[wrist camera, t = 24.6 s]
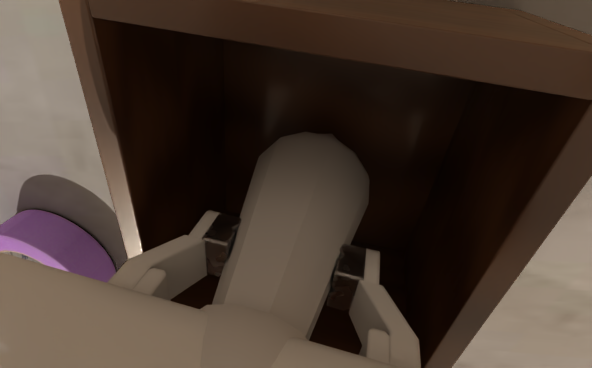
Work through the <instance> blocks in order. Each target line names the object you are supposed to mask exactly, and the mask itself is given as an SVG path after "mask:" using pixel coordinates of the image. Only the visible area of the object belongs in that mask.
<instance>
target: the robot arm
mask: <svg viewBox="0 0 592 368" xmlns="http://www.w3.org/2000/svg"><path fill="white" fill-rule="evenodd" d="M241 221H242V220H241V218H239V217H235V216H231V215H228V214H224V213H219V212H216V211H212V210H208V211H206V213H205V214H204V215H203V217H202V218H201V219H200V220H199V222H198V223H197V224H196V226H195V227H194V228H193V230H192V231H191V232H190V234H189V235H183V236H181V237H178V238H176V239H174V240H171V241H169V242H167V243H165V244H162V245H160V246H158V247H155V248H153V249H151V250H148V251H146V252H144V253H142V254H139V255H137V256H135V257H132V258H130V259H128V260H127V261H126V262H125V263H124V264H123V266H122V267H121V268H120V269H119V270H118V271H117V272H116V273H115V274H114V275H113V277H112V278H111V279H110V280H109V281H108V282H107V283H106V282H103V281H99V280H96V279H92V278H89V277H85V276H82V275H78V274H75V273H71V272H68V271H64V270H61V269H57V268H54V267H50V266H47V265H43V264H40V263H37V262H33V261H30V260H26V259H23V258H19V257H16V256H12V255H9V254H5V253H2V252H0V368H201V367H200V363H201V354H202V345H203V336H204V334H205V329H206V325H207V320H208V314H207V313H206V312H205V311H203V310H200V309H197V308H193V307H190V306H186V305H183V304H179V303H176V302H172V301H171V299H172V298H174V297H175V296H177V295H178V294H180V293H181V292H183V291H184V290H185V289H187V288H188V287H190V286H191V285H193V284H194V283H196V282H197V281H199V280H200V279H202V278H203V277H205V276H206V275H207V274H210V275H214V276H218V277H221V274H222V271H223V268H224V264H225V262H226V259H227V258H228V257H229V255H230V253H231V251H232V248H233V245H234V242H235V238H236V234H237V231H238V228H239V226H240V224H241ZM339 250H340V255H339V258H338V259H337V262H336V266H335V270H334V275H333V281H332V286H331V288H330V291H329V295H328V300H327V306H330V307H333V308H336V309H340V310H343V311H346V312H349V316H350V318H351V320H352V323H353V325H354V327H355V330H356V332H357V334H358V337H359V339H360V341H361V344H362V348H361V350H360V353H359V355H356V354H353V353H350V352H346V351H343V350H339V349H336V348H332V347H329V346H325V345H322V344H318V343H315V342H311V341H308V340H304V339H301V338H296V337H295V338H290V339H288V340H287V342H286V344H285V345H284V347H283V348H282V350H281V352H280V353H279V355H278V357H277V359H276V360H275V362H274V363H273V365H272V366H271V367H270V368H421V361H420V348H419V339H418V338H417V336H416V335H415V333H414V332H413V330H412V329H411V327H410V326H409V324H408V323H407V321H406V320H405V318H404V317H403V315H402V314H401V312H400V311H399V309H398V308H397V306H396V305H395V303H394V302H393V300H392V299H391V297H390V296H389V294H388V293H387V291H386V290H385V288H384V287H383V286H382V285H379V273H380V252H379V251H376V250H371V249H367V248H366V249H365V248H362V247H358V246H354V245H349V244H345V243H344V244H342V246H341V248H340V249H339Z"/></svg>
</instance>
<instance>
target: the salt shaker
mask: <svg viewBox="0 0 592 368" xmlns="http://www.w3.org/2000/svg"><path fill="white" fill-rule="evenodd" d="M369 181H370V180H369V176H368V174H367V172H366V170H365V169H364V167H363V165H362V163H361V162H360V160H359V158H358V157H357V155H356V153H355V152H353V151H352V150H351V149H349V148H348V147H347V146H345V145H344V144H342V143H341V142H340V141H338V140H337V139H336V138H335V136H334V135H333V134H316V133H310V132H302V133H297V134H293V135H288V136H284V137H280V138H279V139H278V140H277V141H276V142H275V143H274V144H272V145H271V146H270V147H269V148H268V149H267V150H266V151H264V152H263V153H262V154H261V155H260V156H259V158H258V161H257V164H256V167H255V170H254V173H253V176H252V179H251V182H250V185H249V189H248V192H247V195H246V198H245V201H244V204H243V208H242V211H241V214H240V217H239V218H241V220H242V221H241V224H240V226H239V228H238V231H237V234H236V238H235V242H234V245H233V248H232V251H231V253H230V255H229V257H228V258H227V259H226V262H225V264H224V268H223V271H222V274H221V277H220V280H219V283H218V287H217V290H216V293H215V296H214V299H213V302H212V305H206V306H204V307H203V308H201V309H200V310H203V311H205V312H206V313H207V314H208V320H207V325H206V329H205V334H204V336H203V345H202V354H201V363H200V367H201V368H270V367H271V366H272V365H273V363H274V362H275V360H276V359H277V357H278V355H279V353H280V352H281V350H282V348H283V347H284V345H285V344H286V342H287V340H288V339H290V338H295V337H296V338H301V339H304V340H308V341H309V339H310V336H311V334H312V332H313V329H314V327H315V324H316V322H317V319H318V317H319V315H320V312H321V310H322V307H323V305H324V302H325V300H326V298H327V295H328V293H329V291H330V288H331V286H332V281H333V275H334V270H335V266H336V262H337V259H338V258H339V255H340V250H339V249H340V248H341V246H342V244H344V243H345V244H349V245H350V244H351V242H352V239H353V237H354V235H355V233H356V231H357V228H358V226H359V224H360V222H361V219H362V217H363V215H364V213H365V210H366V208H367V206H368V204H369Z"/></svg>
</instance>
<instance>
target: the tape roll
mask: <svg viewBox="0 0 592 368" xmlns="http://www.w3.org/2000/svg"><path fill="white" fill-rule="evenodd" d="M0 252H2V253H5V254H9V255H12V256H16V257H19V258H23V259H26V260H30V261H33V262H37V263H40V264H43V265H47V266H50V267H54V268H57V269H61V270H64V271H68V272H71V273H75V274H78V275H82V276H85V277H89V278H92V279H96V280H99V281H103V282H106V283H107V282H108V281H109V280H110V279H111V278H112V277H113V275H114V274H115V273H116V270H115V267H114V264H113V262H112V260H111V258H110V257H109V255H108V254H107V252H106V251H105V250H104V249H103V247H102V246H101V245H100V244H99V243H98V242H97V241H96V240H95V239H94V238H93V237H92V236H91V235H89V234H88V233H87V232H85V231H84V230H83V229H82V228H80V227H79V226H77V225H75V224H74V223H72V222H70V221H68V220H67V219H65V218H63V217H60V216H58V215H56V214H53V213H50V212H46V211H42V210H25V211H21V212H19V213H18V214H16V215H15V216H13V217H12V218H10V219H9V220H7V221H6V222H4V223H3V224H1V225H0Z"/></svg>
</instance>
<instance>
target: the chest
mask: <svg viewBox="0 0 592 368" xmlns="http://www.w3.org/2000/svg"><path fill="white" fill-rule="evenodd" d="M59 3H60V7H61V11H62V15H63V18H64V22H65V26H66V29H67V33H68V37H69V41H70V44H71V48H72V52H73V56H74V59H75V63H76V67H77V71H78V74H79V78H80V82H81V86H82V89H83V93H84V97H85V100H86V104H87V108H88V112H89V115H90V119H91V123H92V127H93V130H94V134H95V138H96V142H97V145H98V149H99V153H100V157H101V160H102V164H103V168H104V172H105V175H106V179H107V183H108V186H109V190H110V194H111V198H112V201H113V205H114V209H115V213H116V216H117V220H118V224H119V228H120V231H121V235H122V239H123V243H124V246H125V250H126V254H127V257H128V259H130V258H132V257H135V256H137V255H139V254H142V253H144V252H146V251H148V250H151V249H153V248H155V247H158V246H160V245H162V244H165V243H167V242H169V241H171V240H174V239H176V238H178V237H181V236H183V235H189V234H190V232H191V231H192V230H193V228H194V227H195V226H196V224H197V223H198V222H199V220H200V219H201V218H202V217H203V215H204V214H205V213H206V211H208V210H212V211H216V212H219V213H224V214H228V215H231V216H235V217H240V214H241V211H242V208H243V204H244V201H245V198H246V195H247V192H248V189H249V185H250V182H251V179H252V176H253V173H254V170H255V167H256V164H257V161H258V158H259V156H260V155H261V154H262V153H263V152H264V151H266V150H267V149H268V148H269V147H270V146H271V145H272V144H274V143H275V142H276V141H277V140H278V139H279V138H280V137H284V136H288V135H293V134H297V133H302V132H310V133H316V134H333V135H334V136H335V138H336V139H337V140H338V141H340V142H341V143H342V144H344V145H345V146H347V147H348V148H349V149H351V150H352V151H353V152H355V153H356V155H357V157H358V158H359V160H360V162H361V163H362V165H363V167H364V169H365V170H366V172H367V174H368V176H369V180H370V181H369V204H368V206H367V208H366V210H365V213H364V215H363V217H362V219H361V222H360V224H359V226H358V228H357V231H356V233H355V235H354V237H353V239H352V242H351V244H350V245H354V246H358V247H362V248H365V249H366V248H367V249H371V250H376V251H379V252H380V273H379V285H382V286H383V287H384V288H385V290H386V291H387V293H388V294H389V296H390V297H391V299H392V300H393V302H394V303H395V305H396V306H397V308H398V309H399V311H400V312H401V314H402V315H403V317H404V318H405V320H406V321H407V323H408V324H409V326H410V327H411V329H412V330H413V332H414V333H415V335H416V336H417V338H418V339H419V348H420V361H421V368H452V366H453V365H454V364H455V362H456V361H457V360H458V358H459V357H460V355H461V354H462V353H463V351H464V350H465V349H466V347H467V346H468V344H469V343H470V342H471V340H472V339H473V338H474V336H475V335H476V333H477V332H478V331H479V329H480V328H481V327H482V325H483V324H484V322H485V321H486V320H487V318H488V317H489V316H490V314H491V313H492V312H493V310H494V309H495V307H496V306H497V305H498V303H499V302H500V301H501V299H502V298H503V296H504V295H505V294H506V292H507V291H508V290H509V288H510V287H511V285H512V284H513V283H514V281H515V280H516V279H517V277H518V276H519V275H520V273H521V272H522V270H523V269H524V268H525V266H526V265H527V264H528V262H529V261H530V259H531V258H532V257H533V255H534V254H535V253H536V251H537V250H538V248H539V247H540V246H541V244H542V243H543V242H544V240H545V239H546V238H547V236H548V235H549V233H550V232H551V231H552V229H553V228H554V227H555V225H556V224H557V222H558V221H559V220H560V218H561V217H562V216H563V214H564V213H565V211H566V210H567V209H568V207H569V206H570V205H571V203H572V202H573V200H574V199H575V198H576V196H577V195H578V194H579V192H580V191H581V190H582V188H583V187H584V185H585V184H586V183H587V181H588V180H589V179H590V177H591V176H592V35H589V34H586V33H583V32H580V31H578V30H575V29H572V28H569V27H566V26H563V25H561V24H558V23H555V22H552V21H549V20H546V19H544V18H541V17H538V16H535V15H532V14H529V13H526V12H524V11H521V10H514V9H506V8H499V7H492V6H484V5H477V4H470V3H462V2H455V1H448V0H59ZM219 280H220V277H218V276H214V275H210V274H207V275H206V276H205V277H203V278H202V279H200V280H199V281H197V282H196V283H194V284H193V285H191V286H190V287H188V288H187V289H185V290H184V291H183V292H181V293H180V294H178V295H177V296H175V297H174V298H172V299H171V301H172V302H176V303H179V304H183V305H186V306H190V307H193V308H197V309H201V308H203V307H204V306H206V305H212V302H213V299H214V296H215V293H216V290H217V287H218V283H219ZM328 295H329V293H328ZM328 295H327V298H326V300H325V302H324V305H323V307H322V310H321V312H320V315H319V317H318V319H317V322H316V324H315V327H314V329H313V332H312V334H311V336H310V339H309V341H311V342H315V343H318V344H322V345H325V346H329V347H332V348H336V349H339V350H343V351H346V352H350V353H353V354H356V355H359V353H360V350H361V348H362V344H361V341H360V339H359V337H358V334H357V332H356V330H355V327H354V325H353V323H352V320H351V318H350V316H349V312H346V311H343V310H340V309H336V308H333V307H330V306H327V300H328Z"/></svg>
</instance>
